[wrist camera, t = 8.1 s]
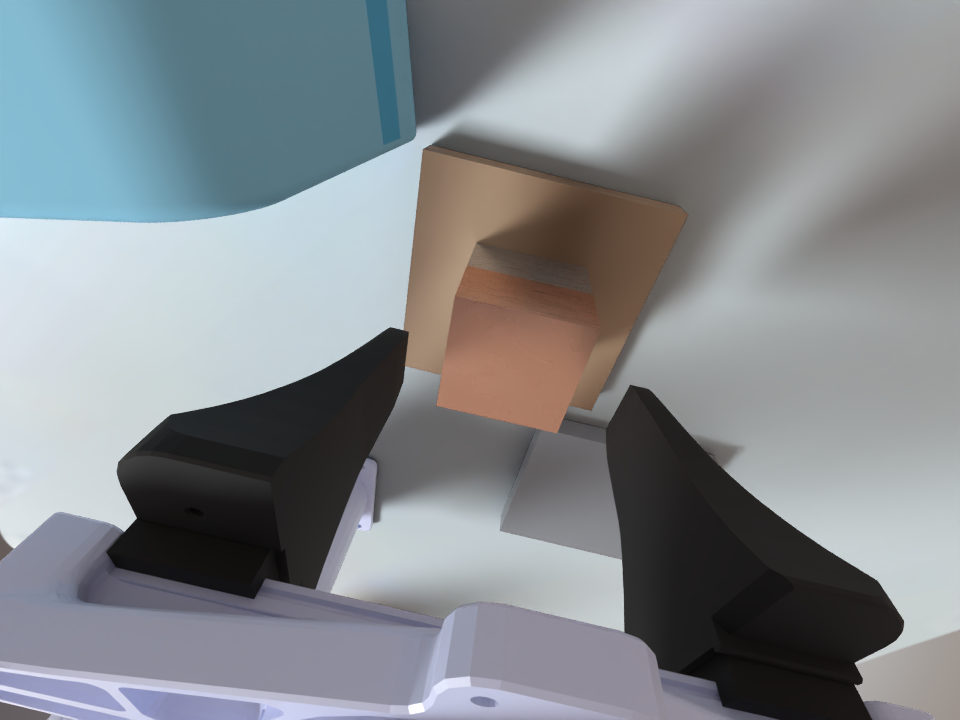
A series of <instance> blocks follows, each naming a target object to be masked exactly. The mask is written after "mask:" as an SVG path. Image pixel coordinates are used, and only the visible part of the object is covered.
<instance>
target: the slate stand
mask: <svg viewBox="0 0 960 720" xmlns="http://www.w3.org/2000/svg"><path fill="white" fill-rule="evenodd" d="M707 454H708V453H707ZM708 455H709V456H710V457H711V458H712V459H713V460H714V461H715V462H716V463H717V461H716V459H715V457H714V455H712V454H708ZM717 464H718V463H717ZM500 531H503V532H507V533H511V534H516V535H520V536H524V537H528V538H532V539H537V540H541V541H545V542H549V543H554V544H558V545H562V546H566V547H571V548H575V549H579V550H583V551H588V552H592V553H596V554H600V555H605V556H609V557H613V558H617V559H622V551H621V538H620V529H619V522H618V516H617V511H616V506H615V501H614V495H613V490H612V485H611V479H610V474H609V468H608V462H607V452H606V429H603V428H599V427H595V426H591V425H587V424H582V423H578V422H574V421H570V420H566V419H563V421H562V423H561V425H560V428H559V430H558V432H557V433H553V432H549V431H544V430H540V429H536V430H535V432H534V435H533V437H532V440H531V442H530V445H529V447H528V450H527V452H526V455H525V457H524V460H523V462H522V465H521V467H520V470H519V472H518V475H517V477H516V480H515V482H514V485H513V487H512V490H511V492H510V495H509V497H508V500H507V502H506V505H505V507H504V510H503V512H502V515H501V524H500Z"/></svg>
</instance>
